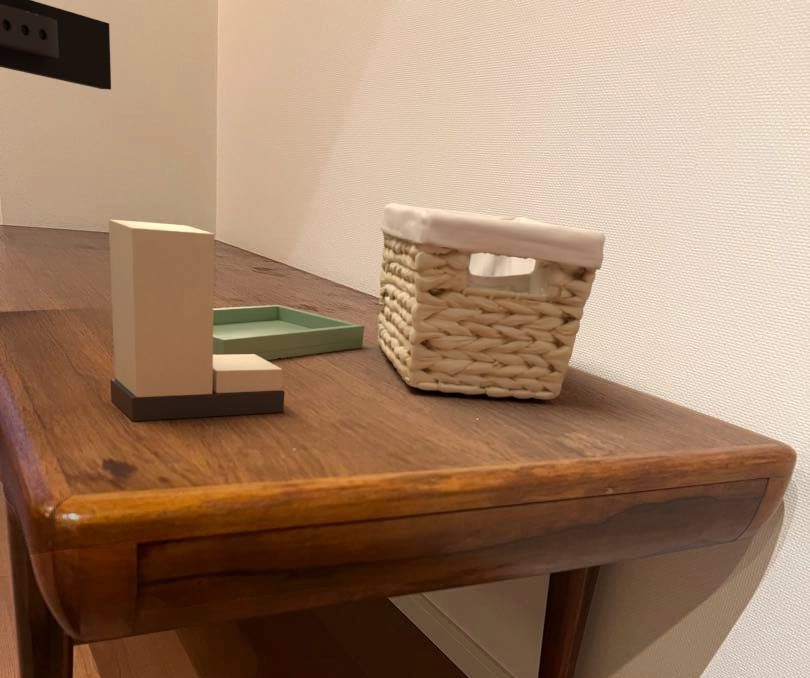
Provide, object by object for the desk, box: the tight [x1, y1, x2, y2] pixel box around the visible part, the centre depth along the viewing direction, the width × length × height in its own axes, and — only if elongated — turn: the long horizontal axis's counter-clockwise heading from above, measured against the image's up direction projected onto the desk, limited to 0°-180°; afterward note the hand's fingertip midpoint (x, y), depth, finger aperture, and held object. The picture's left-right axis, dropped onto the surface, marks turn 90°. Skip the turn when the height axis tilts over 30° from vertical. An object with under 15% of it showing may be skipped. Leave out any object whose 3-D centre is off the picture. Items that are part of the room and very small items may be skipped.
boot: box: [108, 219, 285, 422], centre depth 54 cm, size 11×5×12 cm, turn 124°
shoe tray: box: [213, 304, 365, 361], centre depth 79 cm, size 13×20×2 cm, turn 144°
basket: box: [377, 202, 606, 400], centre depth 75 cm, size 24×16×15 cm
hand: (21, 55), depth 40 cm, fingers open, 13 cm apart
